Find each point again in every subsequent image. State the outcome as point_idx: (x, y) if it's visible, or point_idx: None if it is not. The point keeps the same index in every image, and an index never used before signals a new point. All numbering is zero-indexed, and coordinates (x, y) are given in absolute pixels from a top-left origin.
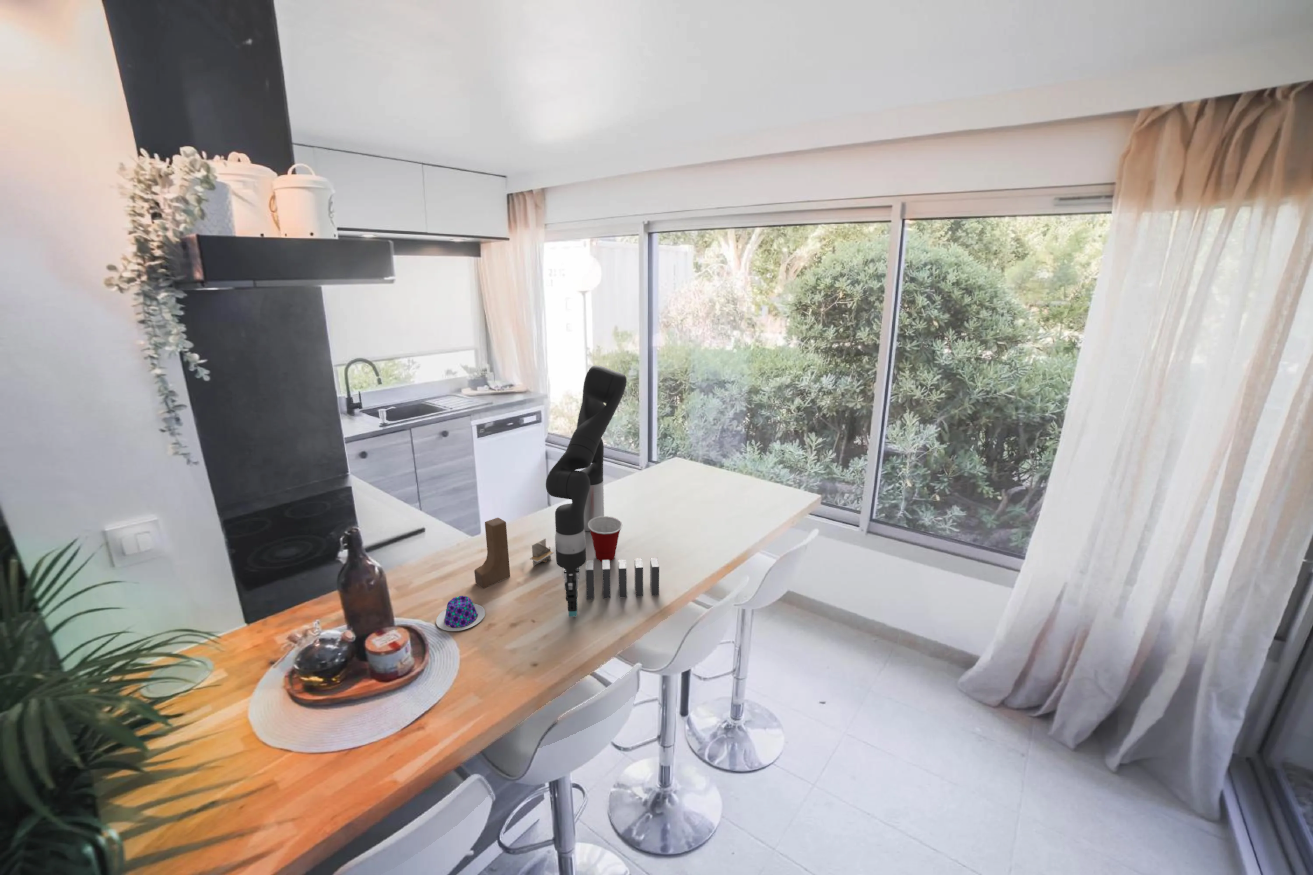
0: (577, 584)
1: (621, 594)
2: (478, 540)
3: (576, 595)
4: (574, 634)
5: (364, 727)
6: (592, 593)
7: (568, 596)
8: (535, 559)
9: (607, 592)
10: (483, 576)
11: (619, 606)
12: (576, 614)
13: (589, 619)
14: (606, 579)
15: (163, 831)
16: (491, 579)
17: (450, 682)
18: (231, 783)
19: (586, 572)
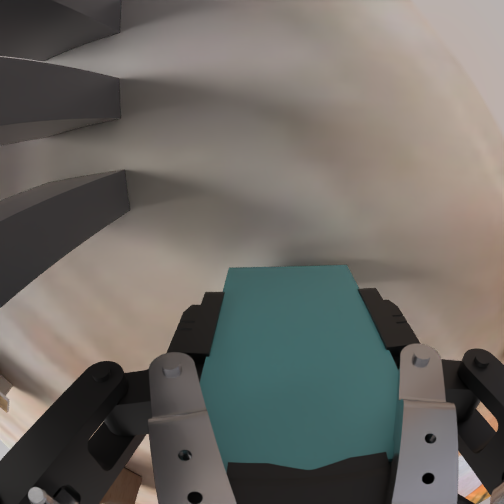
0: (454, 446)
1: (111, 18)
2: (6, 442)
3: (440, 366)
4: (432, 255)
5: (476, 478)
6: (110, 184)
7: (466, 419)
8: (4, 404)
9: (101, 91)
10: (131, 502)
11: (207, 17)
12: (348, 270)
13: (330, 183)
14: (39, 90)
15: (488, 495)
16: (118, 478)
17: (460, 456)
18: (474, 498)
19: (16, 289)
